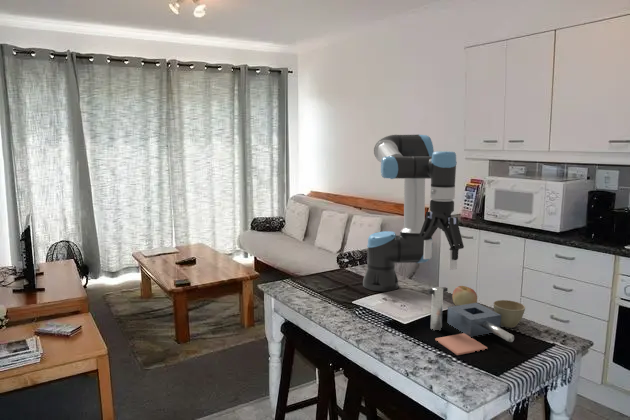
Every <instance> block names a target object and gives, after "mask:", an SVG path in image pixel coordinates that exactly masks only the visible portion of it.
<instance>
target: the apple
mask: <svg viewBox="0 0 630 420" xmlns="http://www.w3.org/2000/svg"><path fill="white" fill-rule="evenodd" d="M452 302H453V304H454V306H458V305H465V304H472V303H478V294H477V292H476V291H475V289H473V288H471V287H468V286H465V285H459V286H457V287H455V288H454V290H453V291H452Z"/></svg>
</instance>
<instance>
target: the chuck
mask: <svg viewBox="0 0 630 420" xmlns="http://www.w3.org/2000/svg"><path fill="white" fill-rule="evenodd" d="M446 320H447V322H446V323H448V324H449V325H448V324H447V325H448V326H450V325H451V326H450V327H452V326H453V327H454V329H455V328H456V329H455V330H457V329H458V330H459V331H458V330H457V331H458V332H460V331H461V332H460V333H462V332H463V333H465V334H466V335H468V336H469V337H472V338H474V337H473V336H477V337H479V336H478V335H482V336H484V335H483V334H488V335H490V334H489V333H493V334H494V335H496V336H498V337H500V338H501V339H503V340H505V341H507V342H509V343H513V342H514V340H515V335H513V334H512V333H509V332H508V331H506V330H504V329H503V328H501V326H502V325H501V315H500V314H498V313H496V312H495V311H494V310H492V309H490V308H488V307H486V306H484V305H482V304H480V303H478V302H477V303H472V304H465V305H458V306H455V305H453V306H448V307H447V319H446ZM453 327H452V328H453Z"/></svg>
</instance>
